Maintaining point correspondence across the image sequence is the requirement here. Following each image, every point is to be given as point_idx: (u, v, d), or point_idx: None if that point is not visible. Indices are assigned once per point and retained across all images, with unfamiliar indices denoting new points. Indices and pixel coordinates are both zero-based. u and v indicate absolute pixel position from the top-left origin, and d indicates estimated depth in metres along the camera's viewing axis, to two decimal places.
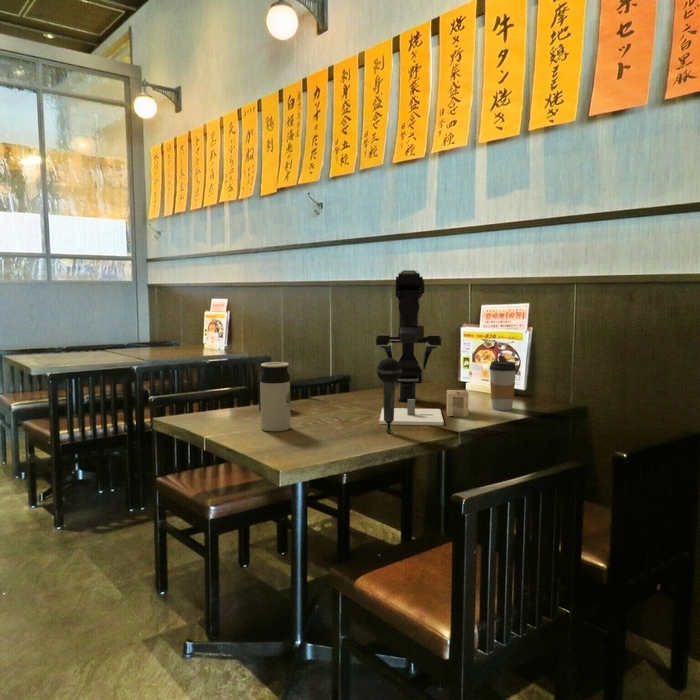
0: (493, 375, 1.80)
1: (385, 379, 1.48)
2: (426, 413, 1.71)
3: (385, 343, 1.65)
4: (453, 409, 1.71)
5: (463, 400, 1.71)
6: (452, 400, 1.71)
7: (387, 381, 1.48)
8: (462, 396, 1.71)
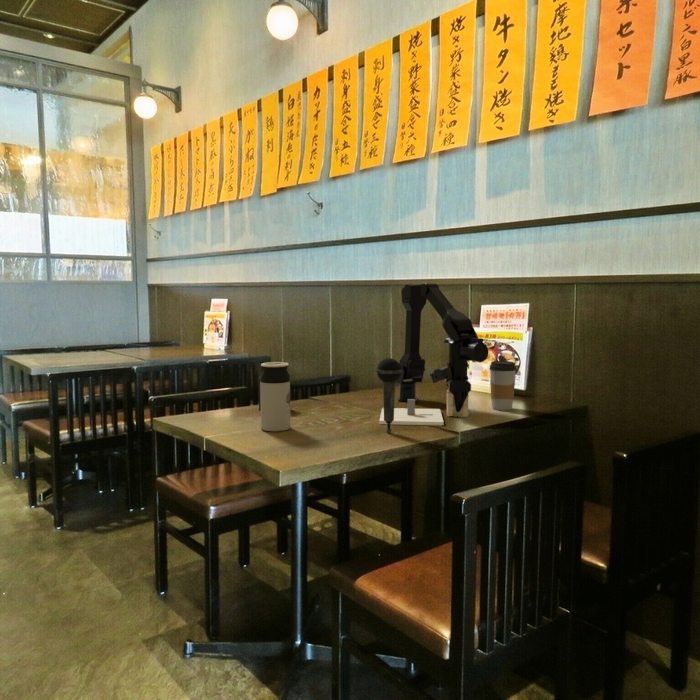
0: (493, 375, 1.80)
1: (385, 379, 1.48)
2: (426, 413, 1.71)
3: (445, 380, 1.80)
4: (453, 409, 1.71)
5: None
6: (452, 400, 1.71)
7: (387, 381, 1.48)
8: None
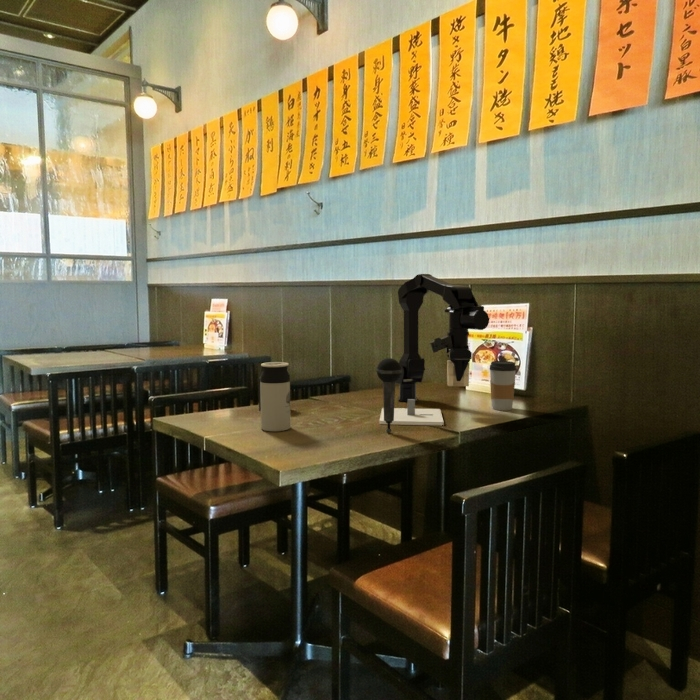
0: (493, 375, 1.80)
1: (385, 379, 1.48)
2: (426, 413, 1.71)
3: (446, 351, 1.79)
4: (454, 378, 1.70)
5: None
6: (453, 369, 1.70)
7: (387, 381, 1.48)
8: None
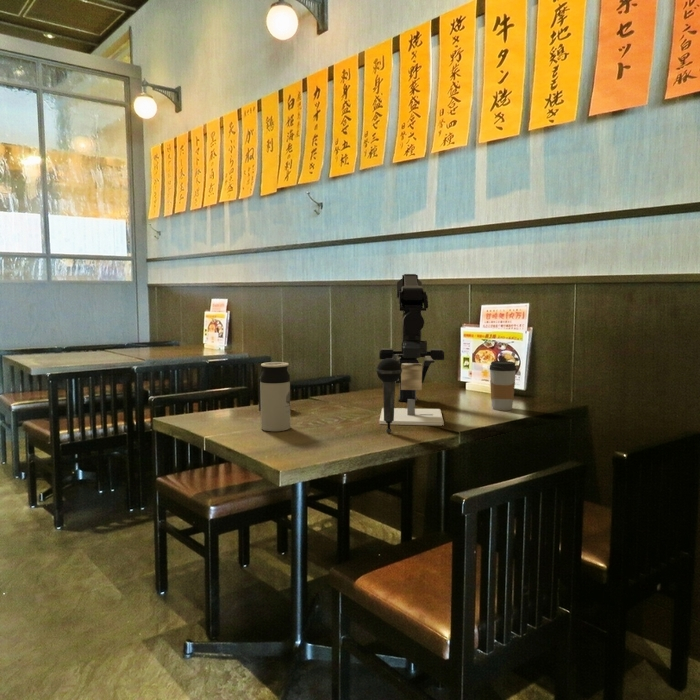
0: (493, 375, 1.80)
1: (385, 379, 1.48)
2: (426, 413, 1.71)
3: (388, 357, 1.66)
4: None
5: None
6: None
7: (387, 381, 1.48)
8: None
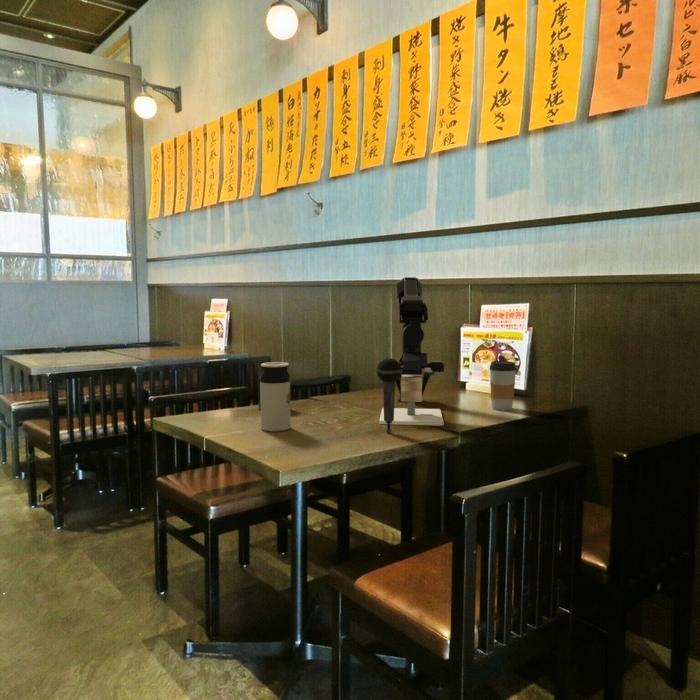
0: (493, 375, 1.80)
1: (385, 379, 1.48)
2: (426, 413, 1.71)
3: None
4: None
5: None
6: None
7: (387, 381, 1.48)
8: None
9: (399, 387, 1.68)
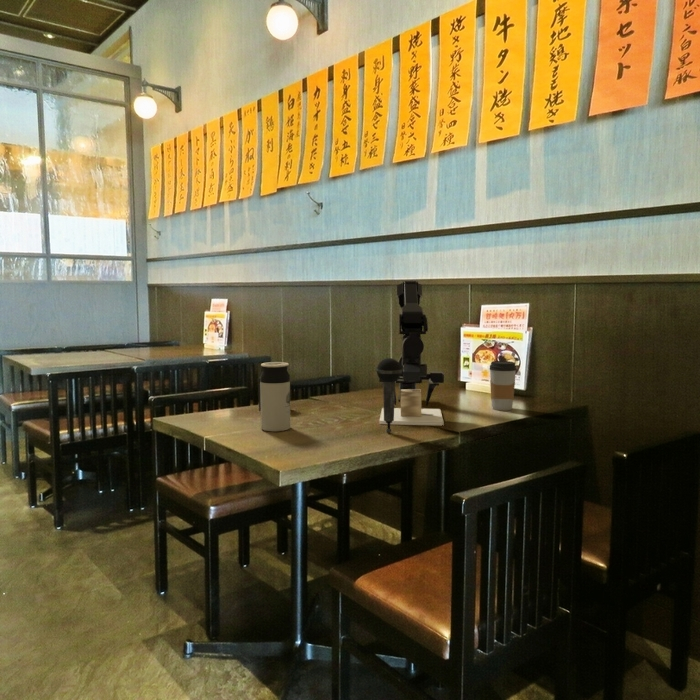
0: (493, 375, 1.80)
1: (385, 379, 1.48)
2: (426, 413, 1.71)
3: None
4: None
5: None
6: None
7: (387, 381, 1.48)
8: None
9: None
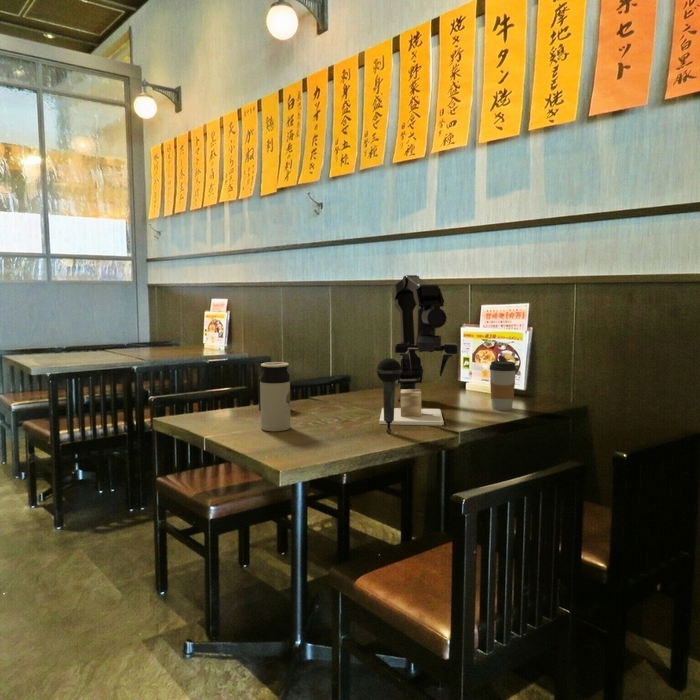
0: (493, 375, 1.80)
1: (385, 379, 1.48)
2: (426, 413, 1.71)
3: (404, 351, 1.73)
4: None
5: None
6: None
7: (387, 381, 1.48)
8: None
9: (409, 368, 1.76)
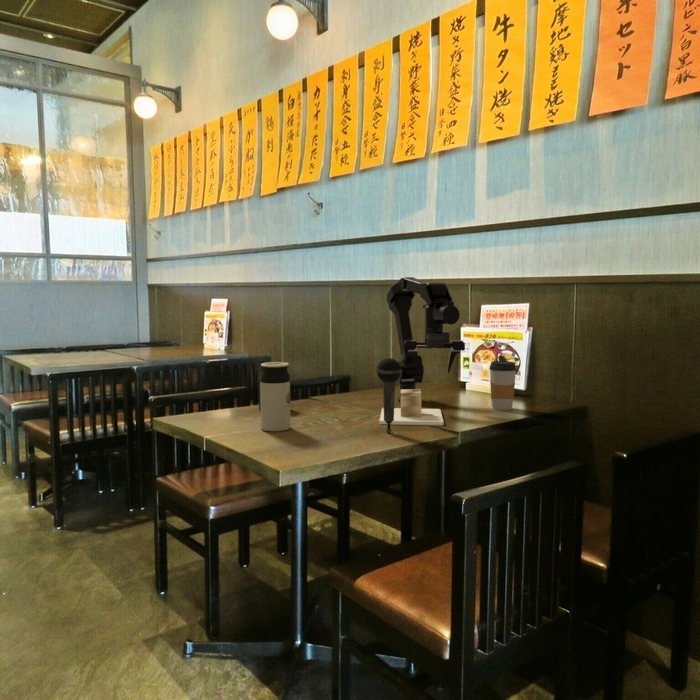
0: (493, 375, 1.80)
1: (385, 379, 1.48)
2: (426, 413, 1.71)
3: (412, 348, 1.77)
4: None
5: None
6: None
7: (387, 381, 1.48)
8: None
9: (417, 365, 1.79)
